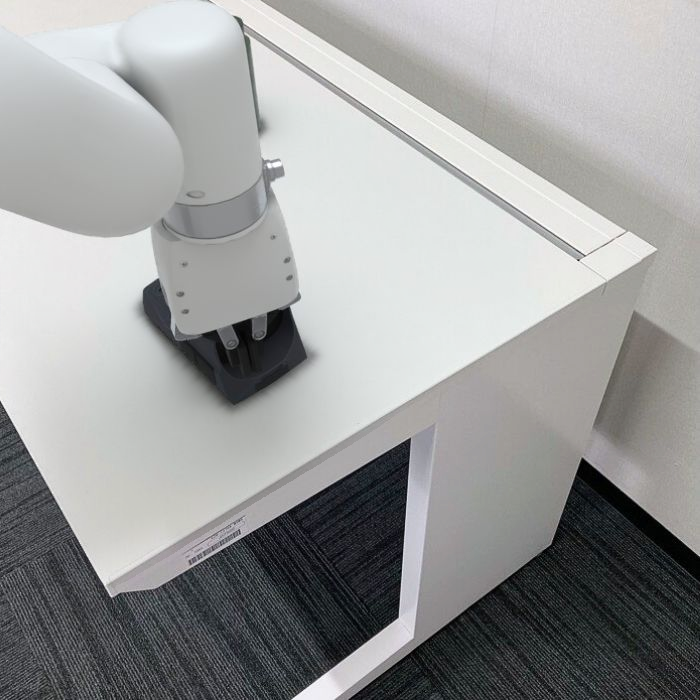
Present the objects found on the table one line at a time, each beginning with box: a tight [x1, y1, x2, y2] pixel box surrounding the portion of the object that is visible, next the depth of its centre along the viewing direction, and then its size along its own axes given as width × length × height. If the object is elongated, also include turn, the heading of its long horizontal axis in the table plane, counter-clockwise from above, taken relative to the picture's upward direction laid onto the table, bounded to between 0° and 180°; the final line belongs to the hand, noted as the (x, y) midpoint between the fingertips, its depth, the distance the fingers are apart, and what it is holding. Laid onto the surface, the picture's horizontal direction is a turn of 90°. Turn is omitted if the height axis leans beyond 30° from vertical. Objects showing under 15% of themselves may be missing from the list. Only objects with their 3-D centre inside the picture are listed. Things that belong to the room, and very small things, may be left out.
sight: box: [142, 277, 308, 405], centre depth 74 cm, size 9×18×10 cm, turn 41°
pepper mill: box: [231, 14, 262, 133], centre depth 97 cm, size 6×6×16 cm
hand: (247, 363), depth 67 cm, fingers closed
